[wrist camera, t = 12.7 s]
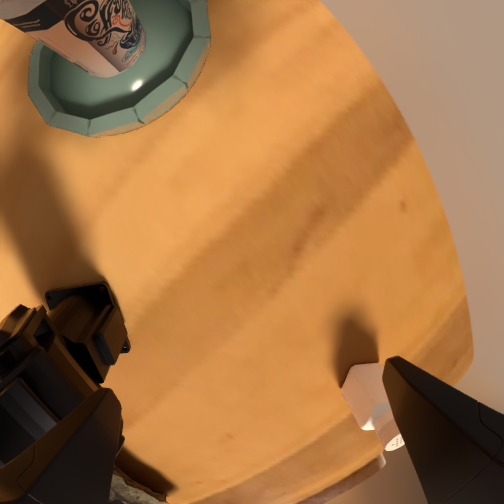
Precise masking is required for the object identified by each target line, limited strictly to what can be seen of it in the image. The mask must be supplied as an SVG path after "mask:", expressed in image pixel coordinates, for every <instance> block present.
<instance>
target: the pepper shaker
mask: <svg viewBox="0 0 504 504" xmlns="http://www.w3.org/2000/svg"><path fill="white" fill-rule="evenodd" d="M383 370H384V367H383V365H382V364H380V363H370V364H360V365H354V366H352V367H351V368H350V370H349V373H348V375H347V377H346V380H345V382H344V384H343V386H342V395H343V397H344V398H345V400H346V402H347V404H348V406H349V408H350V410H351V411H352V413H353V415H354V417H355V419H356V421H357V422H358V424H359V426H360V428H361V429H363V430H374V429H375V431H376V433H377V437H378V438H379V439H380V442H381V443H382V445H383V447H384V449H385V450H387V451H390V450H394V449H397V448H399V447H401V446H402V445H404V444H405V443H404V441H403V439H402V436H401V434H400V432H399V429H398V427H397V425H396V422H395V420H394V417H393V414H392V411H391V407H390V404H389V401H388V398H387V394H386V391H385V388H384V385H383V382H382V374H383Z"/></svg>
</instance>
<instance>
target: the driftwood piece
mask: <svg viewBox="0 0 504 504" xmlns="http://www.w3.org/2000/svg"><path fill="white" fill-rule="evenodd" d="M114 466H115V470H114V471H113V477H112V483H111V490H110V497H109V504H169V503H168V502H167V501H166V495H165V494H161V493H154V492H152V491H151V490H150V489H149V488H148V487H144V486H142V485H140V484H138V483H137V482H135V481H133V480H131V479H130V478H129V477H128V476H127V475H126V474H125V473H123V472H122V471H121V470H120V469H119V467H118V466H116V465H114Z"/></svg>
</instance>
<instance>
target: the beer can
mask: <svg viewBox="0 0 504 504" xmlns="http://www.w3.org/2000/svg"><path fill="white" fill-rule="evenodd" d="M0 18H1V19H3V20H4V21H6V22H8V23H10V24H11V25H13V26H15V27H16V28H18V29H20V30H21V31H23V32H25V33H26V34H28V35H30V36H31V37H33V38H35V39H36V40H38V41H39V42H41V43H43V44H44V45H46V46H47V47H49V48H51V49H52V50H54V51H55V52H57V53H58V54H60V55H61V56H63V57H64V58H66V59H67V60H69V61H70V62H72V63H74V64H75V65H77V66H78V67H79V68H81V69H82V70H84V71H85V72H87V73H88V74H90V75H91V76H94V77H97V78H109V77H113V76H116V75H119V74H121V73H123V72H124V71H126V70H128V69H129V68H130V67H131V66H133V65H134V64H135V63H136V61H137V60H138V59H139V58H140V56H141V55H142V53H143V51H144V49H145V45H146V33H145V31H144V29H143V27H142V25H141V23H140V21H139V19H138V17H137V15H136V13H135V11H134V9H133V7H132V5H131V4H130V2H129V0H0Z"/></svg>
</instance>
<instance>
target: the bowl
mask: <svg viewBox="0 0 504 504" xmlns="http://www.w3.org/2000/svg"><path fill="white" fill-rule="evenodd" d="M129 2H130V4H131V5H132V7H133V9H134V11H135V13H136V15H137V17H138V19H139V21H140V23H141V25H142V27H143V29H144V31H145V33H146V45H145V49H144V51H143V53H142V55H141V56H140V58H139V59H138V60H137V61H136V63H135V64H134V65H133V66H131V67H130V68H129V69H128V70H126V71H124V72H123V73H121V74H119V75H116V76H113V77H109V78H97V77H94V76H91V75H90V74H88V73H87V72H85V71H84V70H82V69H81V68H79V67H78V66H77V65H75V64H74V63H72V62H70V61H69V60H67V59H66V58H64V57H63V56H61V55H60V54H58V53H57V52H55V51H54V50H52V49H51V48H49V47H47V46H46V45H44V44H43V43H41V42H39V41H38V40H37V42H36V43H35V45H34V47H33V49H32V51H31V55H30V60H29V74H28V94H29V95H28V96H29V97H30V99H31V100H32V102H33V104H34V105H35V107H36V108H37V110H38V111H39V113H40V114H41V116H42V118H43V119H44V121H45V122H46V124H48V125H49V126H53V127H56V128H60V129H64V130H67V131H71V132H74V133H78V134H81V135H85V136H90V137H95V138H97V137H98V138H101V137H104V136H110V135H118V134H123V133H127V132H130V131H133V130H136V129H139V128H141V127H143V126H145V125H148V124H150V123H151V122H153V121H155V120H156V119H158V118H160V117H161V116H163V115H164V114H165V113H167V112H168V111H170V110H171V109H172V108H173V107H174V106H175V105H176V104H178V103H179V102H180V101H181V99H182V98H183V97H184V96H185V95H186V94H187V93H188V92H189V90H190V89H191V88H192V86H193V85H194V84H195V82H196V80H197V78H198V77H199V75H200V73H201V71H202V69H203V66H204V64H205V61H206V57H207V54H208V53H209V51H210V47H211V35H210V27H209V18H208V10H207V2H206V0H129Z"/></svg>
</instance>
